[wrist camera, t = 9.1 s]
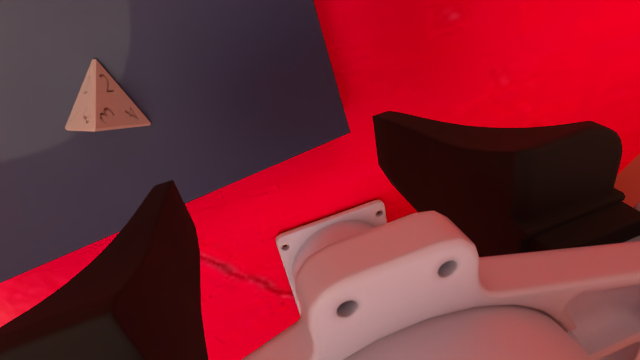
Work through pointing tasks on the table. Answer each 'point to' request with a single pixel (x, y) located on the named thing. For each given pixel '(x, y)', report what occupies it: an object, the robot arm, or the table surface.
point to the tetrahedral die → (103, 105)
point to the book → (149, 109)
